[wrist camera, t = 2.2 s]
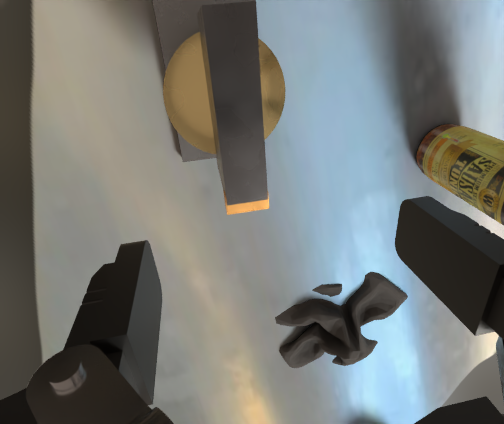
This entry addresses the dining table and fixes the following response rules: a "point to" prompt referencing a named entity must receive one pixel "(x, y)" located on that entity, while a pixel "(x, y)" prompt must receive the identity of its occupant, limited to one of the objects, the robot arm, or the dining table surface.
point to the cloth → (339, 322)
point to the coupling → (228, 99)
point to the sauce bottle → (466, 166)
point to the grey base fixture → (172, 36)
